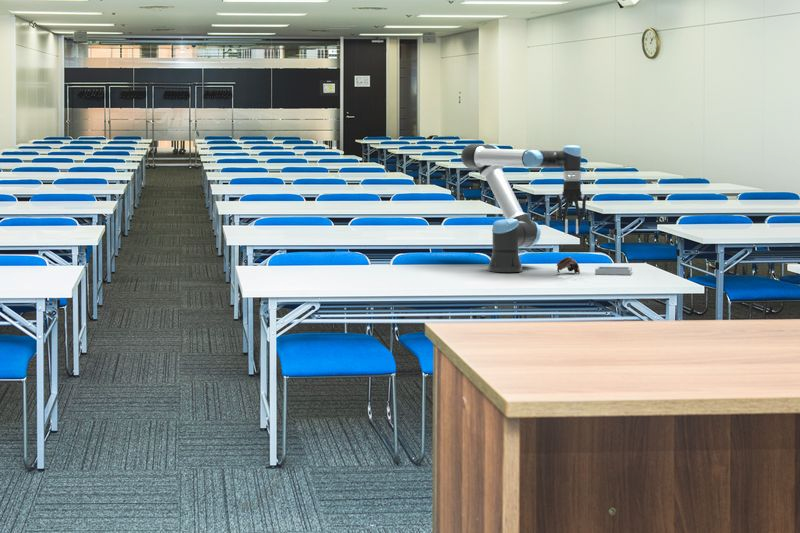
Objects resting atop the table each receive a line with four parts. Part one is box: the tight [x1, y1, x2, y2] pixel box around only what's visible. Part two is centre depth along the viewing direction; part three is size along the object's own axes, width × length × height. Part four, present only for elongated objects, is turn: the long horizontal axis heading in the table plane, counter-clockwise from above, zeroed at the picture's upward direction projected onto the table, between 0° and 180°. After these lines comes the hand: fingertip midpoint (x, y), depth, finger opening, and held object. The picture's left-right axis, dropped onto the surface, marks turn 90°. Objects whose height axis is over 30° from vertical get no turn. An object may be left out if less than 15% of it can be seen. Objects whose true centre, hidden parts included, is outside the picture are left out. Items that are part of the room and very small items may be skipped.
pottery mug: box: [556, 256, 581, 274], centre depth 478 cm, size 12×9×8 cm
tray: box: [594, 266, 633, 276], centre depth 477 cm, size 15×16×2 cm
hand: (571, 233), depth 477 cm, fingers open, 4 cm apart
